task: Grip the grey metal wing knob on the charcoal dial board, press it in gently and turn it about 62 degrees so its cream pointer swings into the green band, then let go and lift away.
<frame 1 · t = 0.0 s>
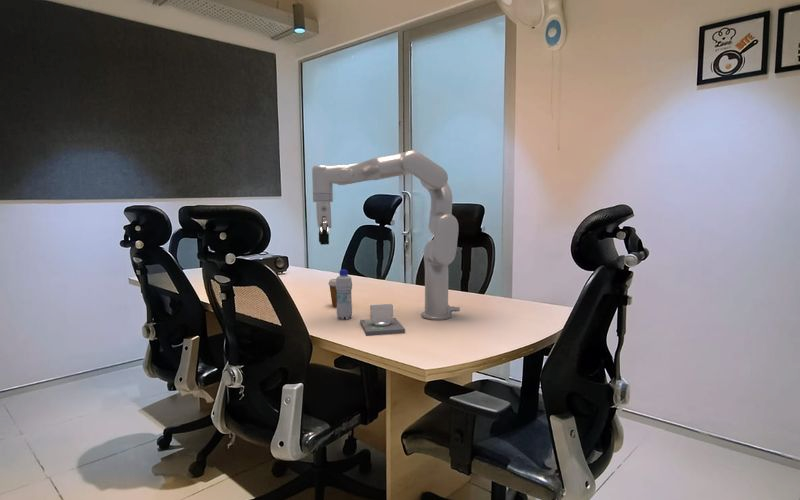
hand: (323, 243, 184), 31 cm above the table, tool pointing down, fingers open, 9 cm apart
knob: (378, 314, 178), point 5 cm above the table, hinge at 0.0°
dial board: (381, 328, 179), on the table
disposable coffee cup: (339, 306, 216), on the table
bottle: (344, 318, 195), on the table
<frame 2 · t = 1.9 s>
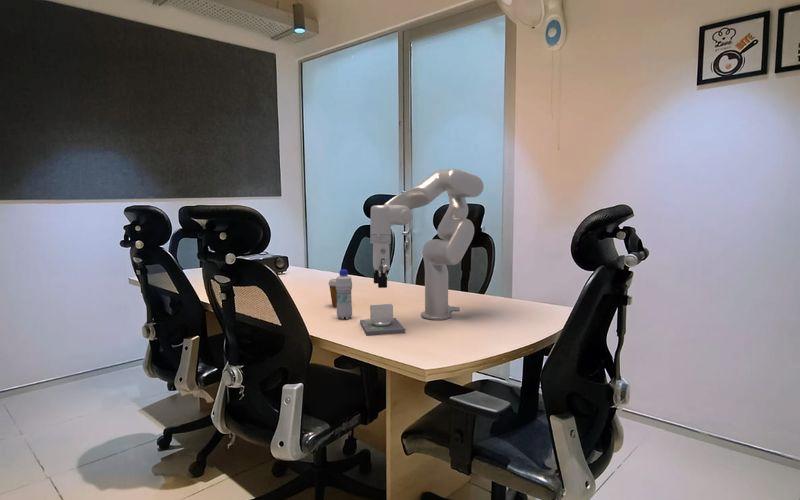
hand: (380, 285, 177), 16 cm above the table, tool pointing down, fingers open, 9 cm apart
nothing on the table moved.
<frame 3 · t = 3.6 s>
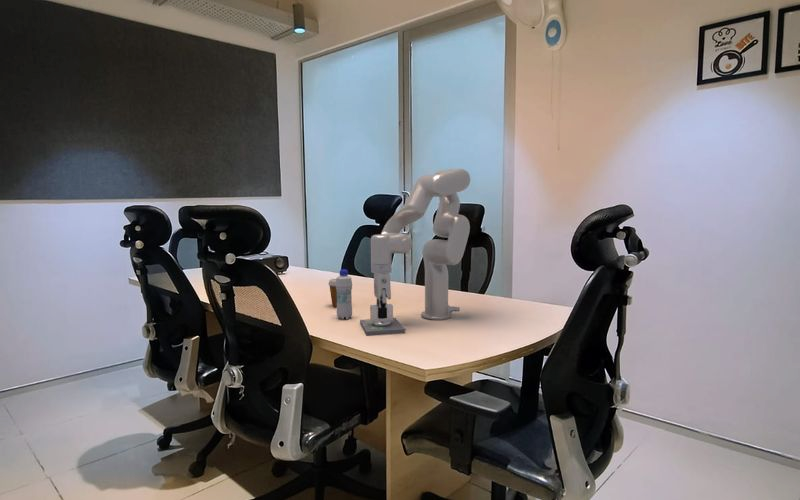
hand: (381, 316, 179), 4 cm above the table, tool pointing down, fingers closed on knob, 3 cm apart
knob: (378, 314, 178), point 5 cm above the table, hinge at 0.0°, touching gripper
everything else where it was.
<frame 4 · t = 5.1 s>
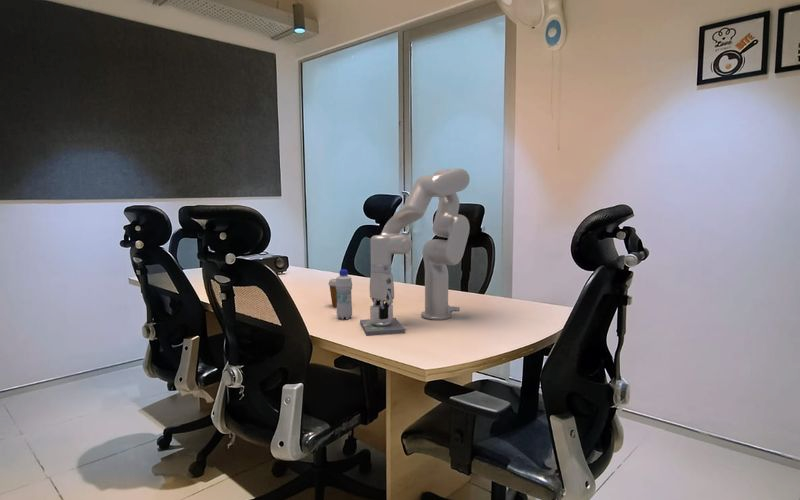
hand: (381, 317, 179), 4 cm above the table, tool pointing down, fingers closed on knob, 3 cm apart
knob: (378, 315, 178), point 5 cm above the table, hinge at 20.7°, touching gripper
everything else where it was.
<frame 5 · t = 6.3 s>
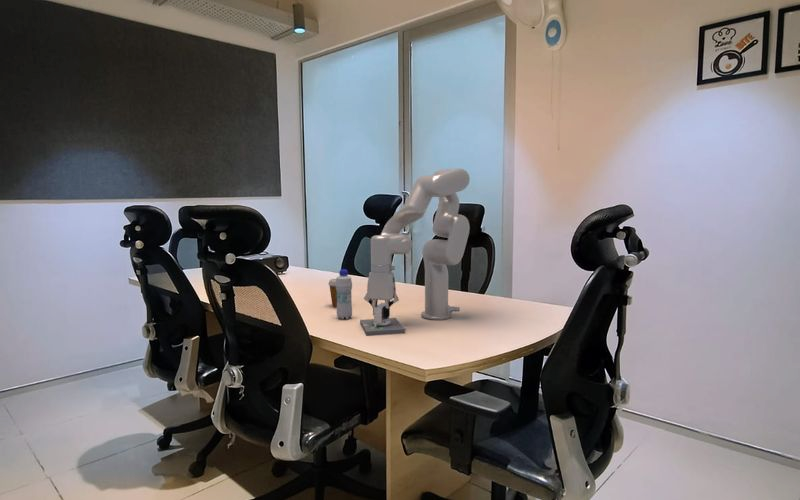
hand: (381, 317, 178), 4 cm above the table, tool pointing down, fingers closed on knob, 3 cm apart
knob: (380, 315, 177), point 5 cm above the table, hinge at 59.2°, touching gripper
everything else where it was.
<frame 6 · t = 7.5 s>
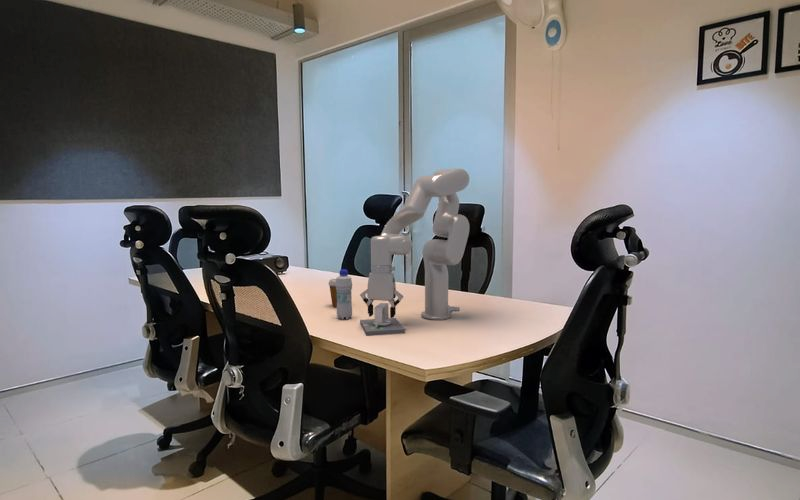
hand: (381, 316, 179), 5 cm above the table, tool pointing down, fingers open, 7 cm apart
knob: (380, 315, 177), point 5 cm above the table, hinge at 62.7°
everything else where it was.
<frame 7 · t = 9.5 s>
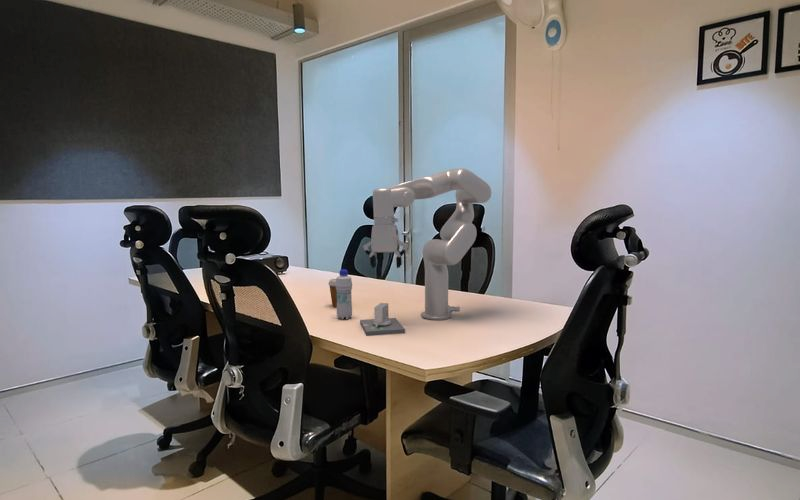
hand: (386, 267, 180), 22 cm above the table, tool pointing down, fingers open, 9 cm apart
nothing on the table moved.
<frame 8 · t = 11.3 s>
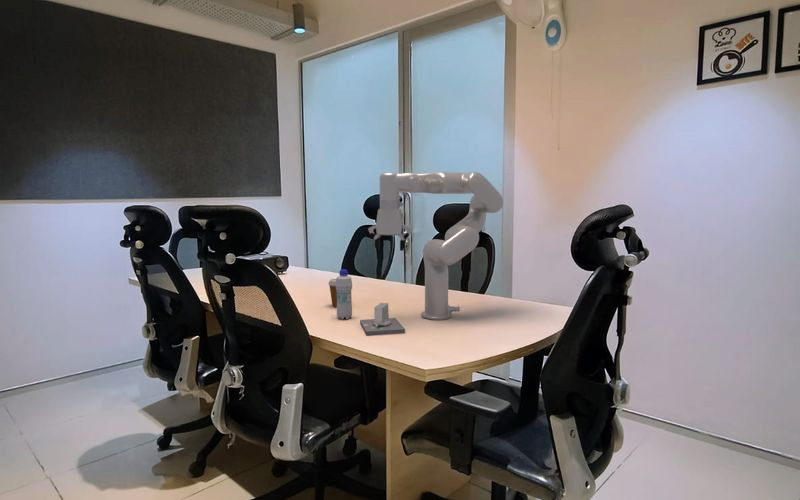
hand: (389, 250, 185), 28 cm above the table, tool pointing down, fingers open, 9 cm apart
nothing on the table moved.
at the end: knob at +63° (first picture: +0°); the gripper is holding nothing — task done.
